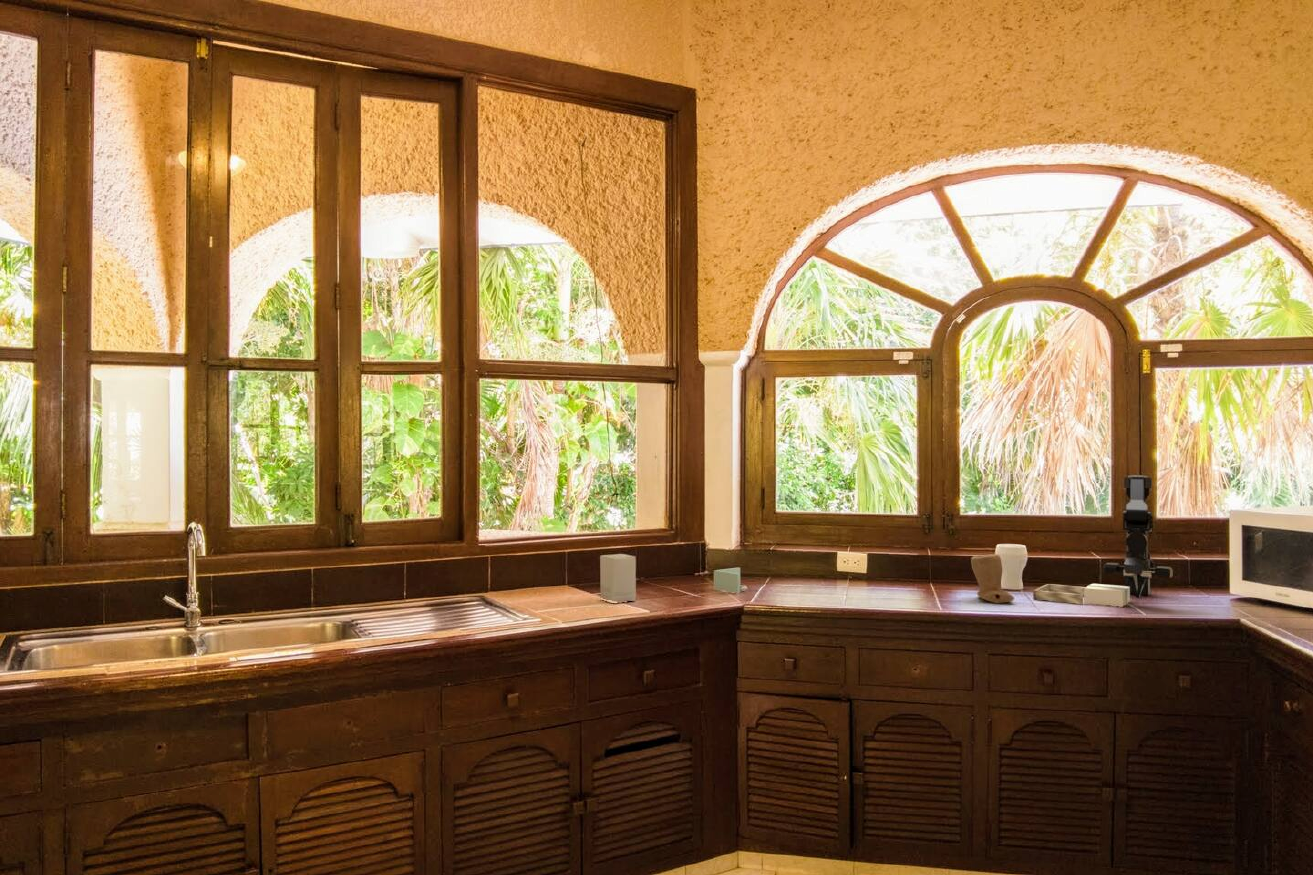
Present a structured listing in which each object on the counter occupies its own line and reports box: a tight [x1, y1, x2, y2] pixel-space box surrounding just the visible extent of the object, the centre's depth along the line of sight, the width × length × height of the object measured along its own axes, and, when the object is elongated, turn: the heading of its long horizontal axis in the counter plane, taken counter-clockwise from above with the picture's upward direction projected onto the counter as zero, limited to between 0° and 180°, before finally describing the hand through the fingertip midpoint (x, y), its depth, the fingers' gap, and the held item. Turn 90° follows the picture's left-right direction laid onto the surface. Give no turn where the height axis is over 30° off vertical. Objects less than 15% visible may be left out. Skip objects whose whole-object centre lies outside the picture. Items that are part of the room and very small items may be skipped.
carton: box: [1083, 583, 1131, 608], centre depth 285 cm, size 11×11×5 cm
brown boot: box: [970, 553, 1015, 604], centre depth 291 cm, size 15×12×15 cm
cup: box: [994, 543, 1028, 591], centre depth 315 cm, size 11×11×15 cm
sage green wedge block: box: [713, 567, 749, 594], centre depth 313 cm, size 12×12×8 cm
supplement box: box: [599, 553, 637, 601], centre depth 293 cm, size 9×9×15 cm
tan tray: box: [1032, 583, 1085, 605], centre depth 293 cm, size 15×17×3 cm
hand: (1137, 597), depth 280 cm, fingers closed
